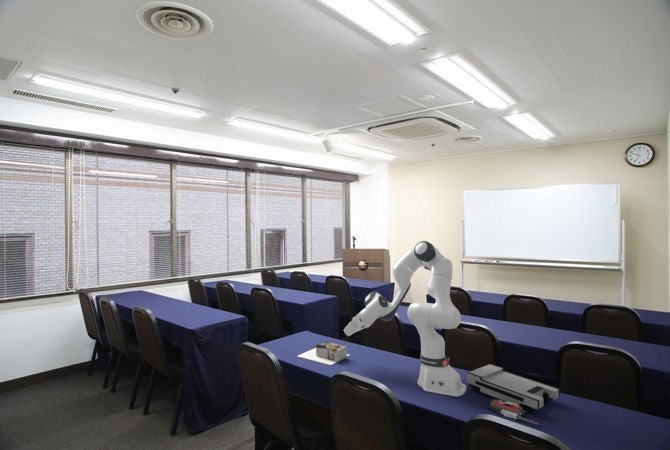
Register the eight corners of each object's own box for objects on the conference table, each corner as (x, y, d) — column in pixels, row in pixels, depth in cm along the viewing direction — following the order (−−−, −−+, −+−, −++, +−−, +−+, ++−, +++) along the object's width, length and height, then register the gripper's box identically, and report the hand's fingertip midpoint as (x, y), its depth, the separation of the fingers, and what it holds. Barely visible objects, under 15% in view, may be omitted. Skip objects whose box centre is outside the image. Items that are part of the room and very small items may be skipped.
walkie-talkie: (484, 411, 154) (538, 429, 140) (484, 400, 154) (538, 417, 140) (492, 404, 160) (543, 420, 147) (492, 394, 160) (543, 409, 147)
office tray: (537, 418, 148) (537, 398, 148) (466, 390, 174) (467, 372, 174) (560, 404, 160) (560, 385, 161) (491, 380, 186) (491, 363, 186)
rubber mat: (350, 355, 219) (350, 354, 219) (331, 365, 202) (331, 364, 202) (317, 347, 232) (317, 347, 232) (297, 356, 215) (297, 355, 215)
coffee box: (337, 350, 206) (315, 344, 216) (337, 362, 206) (315, 355, 216) (347, 346, 214) (325, 341, 223) (347, 357, 214) (325, 351, 223)
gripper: (369, 311, 211) (353, 326, 216) (351, 317, 193) (335, 333, 198) (376, 320, 208) (360, 335, 213) (359, 327, 191) (342, 343, 196)
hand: (348, 334), depth 206 cm, fingers closed
